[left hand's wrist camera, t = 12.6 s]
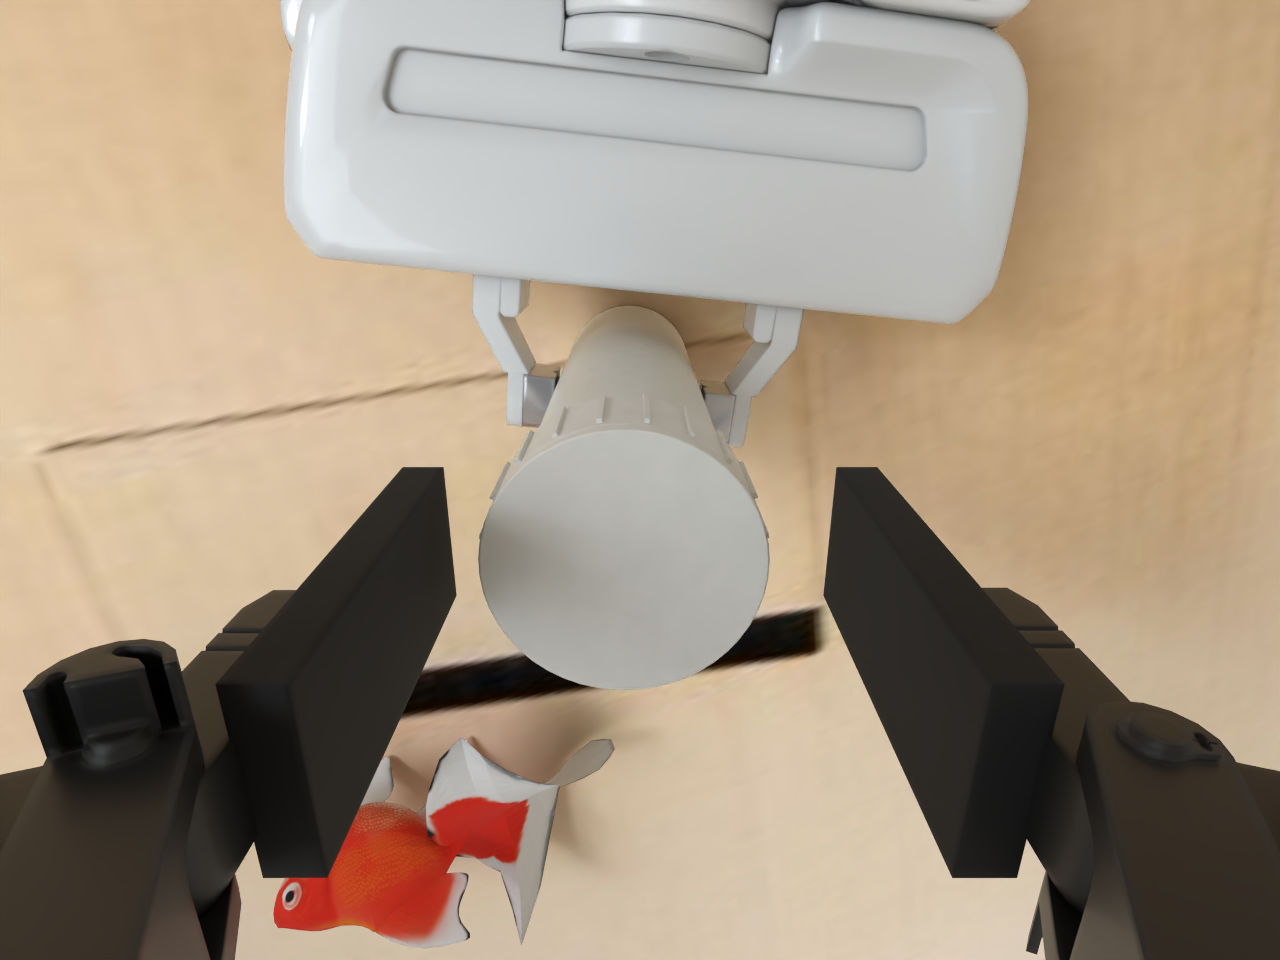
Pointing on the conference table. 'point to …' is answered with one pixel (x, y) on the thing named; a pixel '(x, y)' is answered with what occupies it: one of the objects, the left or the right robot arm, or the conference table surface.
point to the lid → (624, 545)
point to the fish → (436, 850)
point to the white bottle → (628, 363)
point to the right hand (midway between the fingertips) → (626, 432)
